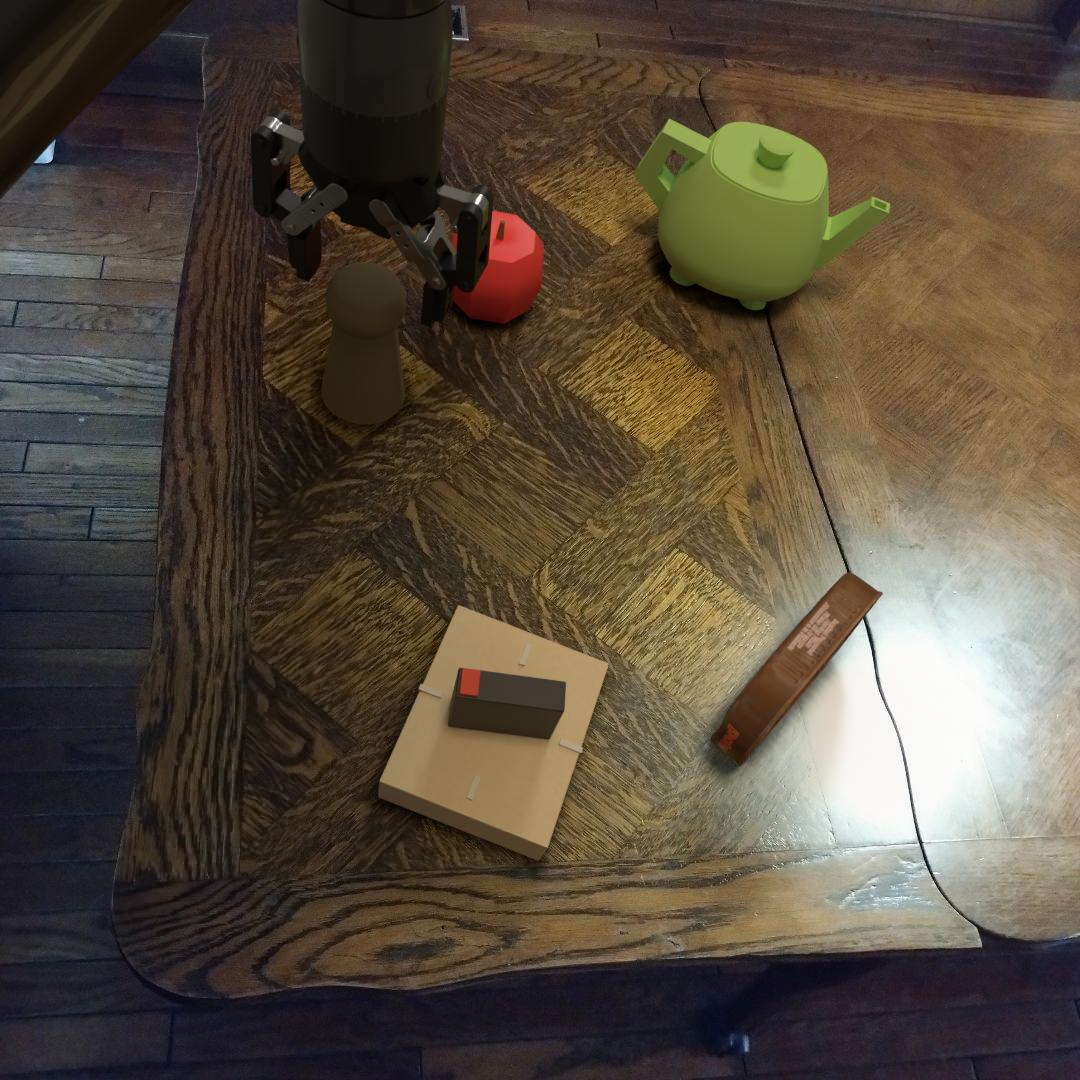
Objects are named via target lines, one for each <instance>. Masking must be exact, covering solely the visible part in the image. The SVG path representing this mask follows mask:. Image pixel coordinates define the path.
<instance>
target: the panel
mask: <svg viewBox="0 0 1080 1080" xmlns="http://www.w3.org/2000/svg"><path fill="white" fill-rule="evenodd" d="M609 665H610V663H609V662H606V661H603V660H601V659H598V658H596V657H593V656H591V655H589V654H586V653H583V652H580V651H577V650H575V649H572V648H570V647H567V646H565V645H562V644H560V643H557V642H554V641H552V640H549V639H547V638H544V637H542V636H539V635H537V634H534V633H532V632H528V631H526V630H524V629H521V628H518V627H516V626H513V625H511V624H509V623H505V622H503V621H501V620H498V619H496V618H493V617H491V616H488V615H485V614H483V613H480V612H477V611H475V610H473V609H470V608H467V607H465V606H462V605H460V604H459V605H457V606H456V609H455V611H454V613H453V615H452V618H451V619H450V622H449V624H448V626H447V630H446V631H445V634H444V636H443V637H442V640H441V642H440V644H439V646H438V648H437V651H436V653H435V655H434V658H433V660H432V662H431V664H430V667H429V668H428V671H427V673H426V676H425V678H424V680H423V683H420V684H419V686H418V689H417V690H418V694H417V696H416V698H415V700H414V703H413V704H412V707H411V709H410V712H409V713H408V716H407V718H406V721H405V722H404V725H403V727H402V730H401V731H400V734H399V736H398V738H397V741H396V742H395V744H394V747H393V749H392V752H391V754H390V756H389V758H388V761H387V763H386V765H385V768H384V770H383V772H382V774H381V776H380V779H379V783H378V791H377V797H378V798H379V799H382V800H384V801H386V802H389V803H391V804H392V803H393V804H395V805H397V806H399V807H402V808H405V809H406V810H409V811H412V812H414V813H416V814H419V815H422V816H425V817H427V818H429V819H432V820H435V821H437V822H439V823H441V824H445V825H447V826H450V827H452V828H454V829H457V830H460V831H462V832H465V833H466V834H470V835H473V836H474V837H477V838H479V839H482V840H485V841H488V842H489V843H493V844H495V845H497V846H499V847H502V848H505V849H507V850H510V851H512V852H515V853H517V854H520V855H523V856H524V857H528V858H530V859H533V860H535V861H540V860H541V858H542V857H543V856H544V854H545V853H546V851H547V850H548V849H549V846H550V843H551V840H552V837H553V834H554V831H555V827H556V825H557V821H558V819H559V817H560V813H561V811H562V806H563V804H564V801H565V797H566V795H567V792H568V788H569V786H570V783H571V779H572V778H573V774H574V771H575V768H576V764H577V762H578V759H579V756H580V754H581V755H582V753H583V751H584V746H583V743H584V741H585V738H586V735H587V731H588V729H589V726H590V722H591V720H592V716H593V714H594V710H595V708H596V705H597V702H598V698H599V695H600V693H601V690H602V686H603V684H604V681H605V678H606V674H607V672H608V668H609ZM459 668H468V669H475V670H483V671H490V672H497V673H505V674H512V675H520V676H527V677H534V678H542V679H549V680H557V681H564V682H566V693H565V710H564V712H563V714H562V716H561V718H560V720H559V722H558V724H557V726H556V728H555V730H554V732H553V734H552V736H551V738H550V739H543V738H535V737H527V736H520V735H512V734H504V733H496V732H488V731H481V730H473V729H465V728H457V727H449V726H448V720H449V712H450V704H451V698H452V693H453V689H454V685H455V681H456V677H457V673H458V669H459Z"/></svg>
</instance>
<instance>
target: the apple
mask: <svg viewBox="0 0 1080 1080" xmlns="http://www.w3.org/2000/svg"><path fill="white" fill-rule="evenodd" d="M450 238H451V239H450V242H451V243H452V245H453V247H454V248H455V250H456V252H457V233H453V232H452V236H451V237H450ZM544 248H545V247H544V243H543V241H542V239H541V238H540V236H539V235H538V233H537V232H536V231H535V230H534V229H533V228H532V227H531V226H530V225H528V223H526V222H525V221H524V220H523V219H522V218H521V217H520V216H519V215H518V214H513V213H508V212H502V211H497V210H492V223H491V236H490V249H489V261H488V265H487V267H486V269H485V270H484V272H483V274H482V276H481V277H480V279H479V281H478V283H477V285H476V286H475V288H474V290H473V291H472V292H470V293H466V292H463V291H461V290H460V289H459V288H458V287H457V286H454V293H453V302H454V303H455V305H457V307H459V309H461V311H462V312H464V313H465V314H466V315H467V317H468V318H470V319H475V320H480V321H487V322H492V323H497V324H505V323H507V322H510V321H512V320H513V319H515V318H517V317H519V316H521V315H523V314H525V313H526V312H529V311H530V309H531V307H532V305H533V303H534V302H535V299H536V298H537V295H538V294H539V292H540V290H541V288H542V283H543V274H544V273H543V271H544V260H545V254H544V253H545V251H544V250H545V249H544Z"/></svg>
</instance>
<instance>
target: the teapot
mask: <svg viewBox="0 0 1080 1080" xmlns="http://www.w3.org/2000/svg"><path fill="white" fill-rule="evenodd" d="M651 143H652V144H651V145H650V147H648V149H647V151H646V152H645V153H644V155H643V157H642V158H641V160H640V161H639V163H638V165H637V167H636V169H635V171H634V173H633V176H634V177H635V179H636V180H637V182H638V183H639V185H640V186H641V187H642V188H643V190H644V191H645V193H646V194H647V195H648V197H649V198H650V200H651V201H652V202H653V204H654V205H655V207H656V208H657V209H658V211H659V212H658V218H657V238H658V244H659V246H660V248H661V251H662V253H663V255H664V256H665V259H666V261H667V262H668V263H669V265H670V266H671V268H670V269H669V276H670V278H671V279H672V281H674V282H675V283H676V284H678V285H680V286H684V287H690V286H694V285H695V284H697V285H698V286H700V287H702V288H704V289H706V290H708V291H711V292H713V293H716V294H719V295H722V296H724V297H729V298H732V299H737V300H738V302H739V304H741V305H742V306H743V307H744V308H746V309H748V310H751V311H760V310H763V309H764V308H765V307H766V305H767V302H771V301H773V302H774V301H775V300H776V301H777V300H779V299H783V298H785V297H788V296H790V295H792V294H794V293H796V292H797V291H799V290H800V289H801V288H802V287H804V285H805V284H806V283H807V282H808V280H809V278H810V277H811V275H812V273H813V271H814V269H816V270H822V269H823V268H824V267H825V266H827V265H828V264H829V263H831V262H832V261H833V260H835V259H836V258H837V257H838V256H839V255H841V254H842V253H843V252H845V251H846V250H847V249H849V248H850V247H851V246H852V245H853V244H854V243H856V242H857V241H858V240H859V239H861V238H862V237H863V236H864V235H866V234H867V233H868V232H869V231H871V230H872V229H873V228H874V227H876V226H877V225H878V224H879V223H881V222H882V221H883V220H884V219H885V218H887V217H888V216H889V215H890V208H891V203H890V202H887V201H885V200H882V199H881V198H877V197H875V196H872V195H871V197H870V198H869V199H867V200H865V201H863V202H860V203H858V204H856V205H854V206H852V207H850V208H848V209H846V210H843V211H842V212H839V213H838V214H835V215H833V216H829V210H830V209H829V208H830V207H829V206H830V194H829V191H830V190H829V189H830V188H829V172H828V165H827V160H826V159H825V157H824V156H823V155H822V153H821V152H820V151H819V150H818V149H817V148H815V146H813V145H811V144H810V143H809V142H807V141H806V140H803V139H802V138H799V137H797V136H796V135H793V134H791V133H789V132H787V131H784V130H781V129H779V128H776V127H773V126H769V125H765V124H761V123H756V122H749V121H735V122H729V123H726V124H724V125H723V126H722V127H721V128H719V129H718V130H716V131H715V132H713V133H712V134H711V135H710V136H709V137H706V136H704V135H702V134H701V133H698V132H697V131H694V130H693V129H691V128H689V127H688V126H687V127H686V126H685V125H683V124H681V123H680V122H677V121H675V120H673V119H671V118H668V119H667V121H666V122H665V124H664V125H663V127H662V128H661V130H660V131H659V133H658V134H657V135H656V137H655V138H654V140H653V142H651ZM672 150H673V151H674V152H676V153H678V154H679V155H680V156H683V158H686V159H687V160H686V161H685V162H684V164H683V165H682V166H681V168H680V169H679V171H678V172H677V174H676V175H673V173H672V172H671V170H670V169H669V168H668V166H667V165H666V164H665V163H666V161H667V159H668V158H669V156H670V154H671V152H672Z"/></svg>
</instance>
